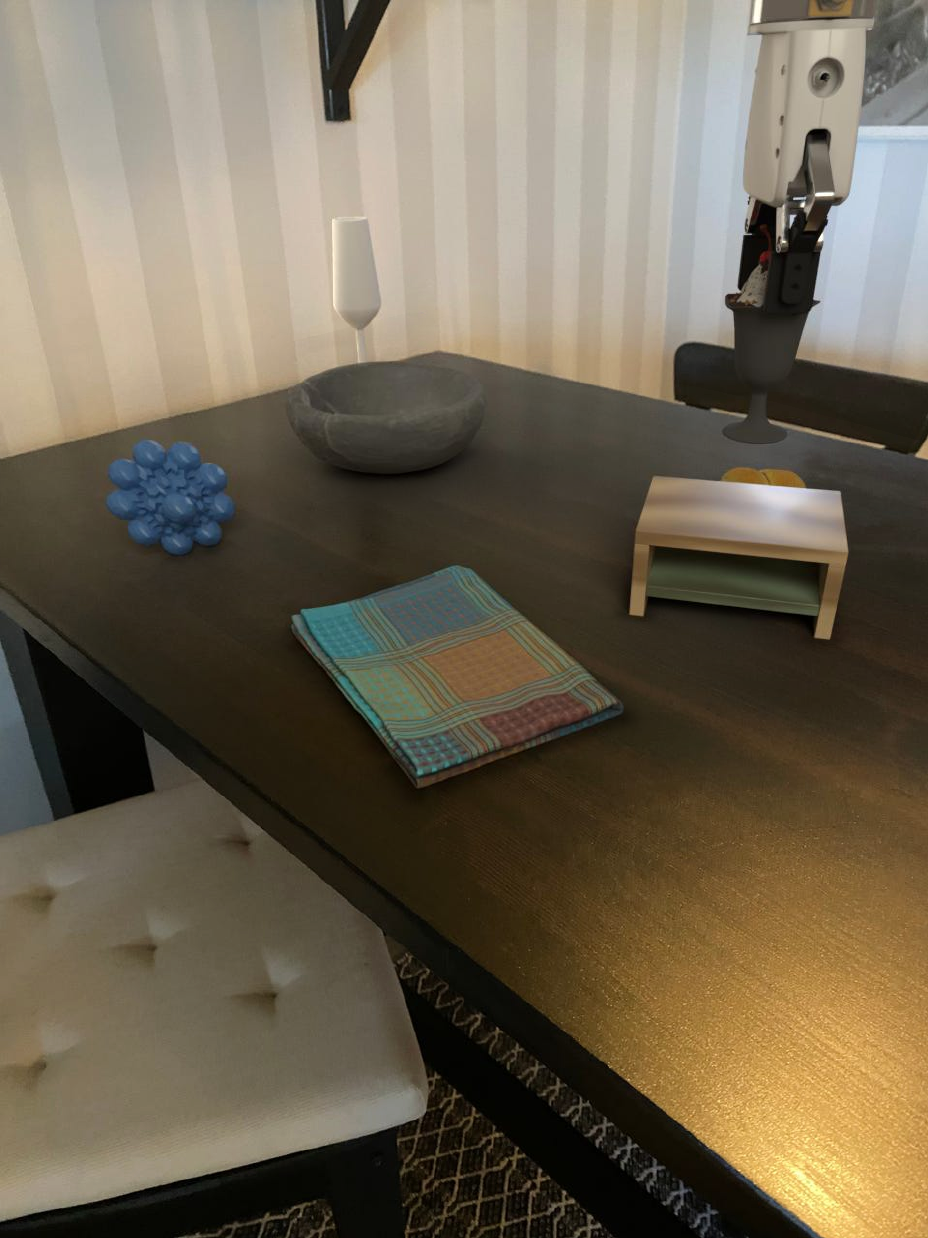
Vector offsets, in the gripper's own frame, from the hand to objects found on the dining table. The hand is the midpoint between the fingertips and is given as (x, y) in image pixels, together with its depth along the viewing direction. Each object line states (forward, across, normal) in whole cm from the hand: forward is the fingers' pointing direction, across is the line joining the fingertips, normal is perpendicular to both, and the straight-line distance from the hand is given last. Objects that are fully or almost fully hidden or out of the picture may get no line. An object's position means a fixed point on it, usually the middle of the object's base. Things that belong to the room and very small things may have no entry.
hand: (772, 299), depth 65 cm
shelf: (+25, +1, 0) cm, 25 cm away
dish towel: (+25, -11, +24) cm, 37 cm away
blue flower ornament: (+25, +9, +51) cm, 57 cm away
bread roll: (+25, +20, -7) cm, 33 cm away
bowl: (+25, +33, +33) cm, 53 cm away
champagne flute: (+25, +61, +40) cm, 77 cm away
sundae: (+10, 0, 0) cm, 10 cm away
